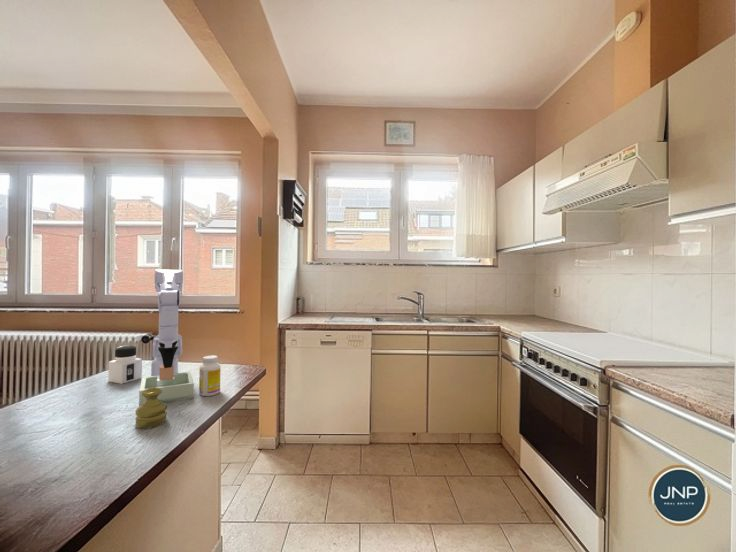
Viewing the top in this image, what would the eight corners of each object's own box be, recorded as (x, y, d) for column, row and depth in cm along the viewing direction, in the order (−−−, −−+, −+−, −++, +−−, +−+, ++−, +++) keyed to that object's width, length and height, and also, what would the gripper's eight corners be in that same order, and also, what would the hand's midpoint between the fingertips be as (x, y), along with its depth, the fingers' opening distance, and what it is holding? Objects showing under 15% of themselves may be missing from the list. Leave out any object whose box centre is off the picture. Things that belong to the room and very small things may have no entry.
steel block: (157, 391, 114) (157, 376, 113) (173, 388, 116) (174, 374, 116) (156, 395, 109) (157, 380, 109) (174, 393, 112) (174, 378, 112)
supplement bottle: (223, 390, 118) (224, 355, 118) (213, 397, 112) (214, 359, 112) (206, 389, 119) (207, 354, 119) (194, 396, 112) (195, 358, 112)
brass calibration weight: (132, 431, 87) (133, 394, 87) (137, 420, 94) (138, 385, 94) (165, 426, 90) (166, 390, 90) (167, 415, 97) (168, 381, 97)
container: (142, 378, 130) (142, 345, 129) (121, 384, 122) (122, 349, 122) (128, 375, 132) (129, 343, 132) (107, 381, 125) (108, 347, 125)
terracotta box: (159, 376, 113) (159, 365, 113) (172, 375, 116) (173, 363, 116) (159, 380, 110) (159, 368, 110) (173, 378, 112) (173, 366, 112)
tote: (142, 391, 115) (142, 377, 115) (190, 384, 123) (190, 371, 123) (139, 406, 103) (139, 390, 103) (193, 398, 111) (193, 383, 110)
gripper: (155, 322, 117) (154, 361, 117) (154, 329, 105) (153, 371, 105) (178, 321, 121) (177, 358, 121) (179, 327, 108) (178, 368, 108)
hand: (167, 364), depth 113 cm, fingers open, 7 cm apart
